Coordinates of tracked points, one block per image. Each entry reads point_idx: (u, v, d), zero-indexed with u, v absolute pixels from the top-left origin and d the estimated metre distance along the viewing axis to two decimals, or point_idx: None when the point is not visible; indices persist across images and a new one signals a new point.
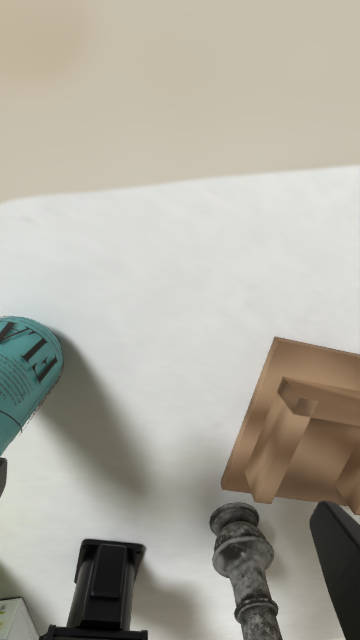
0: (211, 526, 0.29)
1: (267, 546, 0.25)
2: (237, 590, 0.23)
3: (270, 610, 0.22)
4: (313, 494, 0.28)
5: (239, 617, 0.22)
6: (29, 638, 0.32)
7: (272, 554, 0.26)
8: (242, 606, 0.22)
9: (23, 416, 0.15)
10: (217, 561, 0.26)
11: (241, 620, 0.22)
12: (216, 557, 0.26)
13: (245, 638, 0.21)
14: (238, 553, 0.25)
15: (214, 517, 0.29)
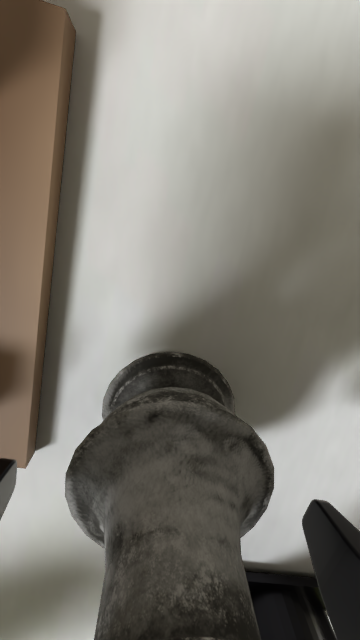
0: None
1: (105, 434, 0.07)
2: None
3: None
4: (14, 207, 0.08)
5: None
6: None
7: (151, 413, 0.07)
8: None
9: None
10: None
11: None
12: None
13: None
14: None
15: None
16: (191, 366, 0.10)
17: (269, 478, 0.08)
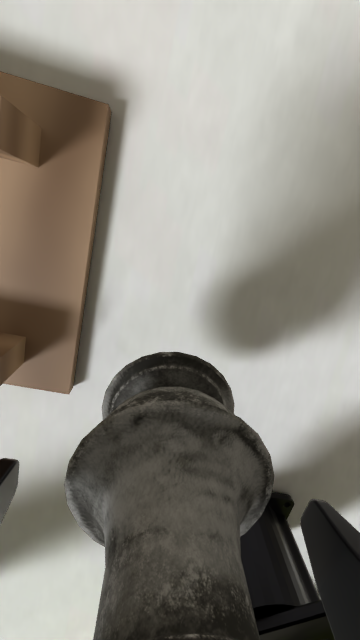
0: None
1: (94, 442, 0.07)
2: None
3: None
4: (72, 216, 0.12)
5: None
6: None
7: (135, 416, 0.07)
8: None
9: None
10: None
11: None
12: None
13: None
14: None
15: None
16: (183, 363, 0.10)
17: (267, 467, 0.08)
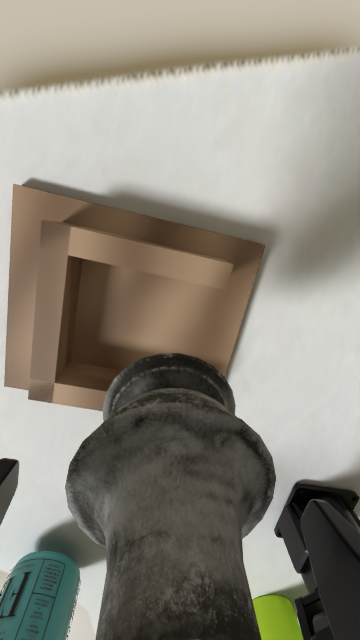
0: None
1: (95, 444, 0.07)
2: None
3: None
4: (232, 308, 0.19)
5: None
6: None
7: (136, 418, 0.07)
8: None
9: None
10: None
11: None
12: None
13: None
14: None
15: None
16: (184, 364, 0.10)
17: (269, 469, 0.08)
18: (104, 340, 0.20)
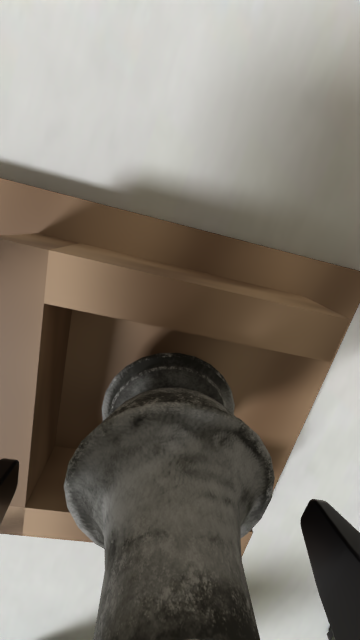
0: None
1: (94, 444, 0.07)
2: None
3: None
4: (309, 369, 0.12)
5: None
6: None
7: (135, 418, 0.07)
8: None
9: None
10: None
11: None
12: None
13: None
14: None
15: None
16: (183, 363, 0.10)
17: (268, 468, 0.08)
18: None
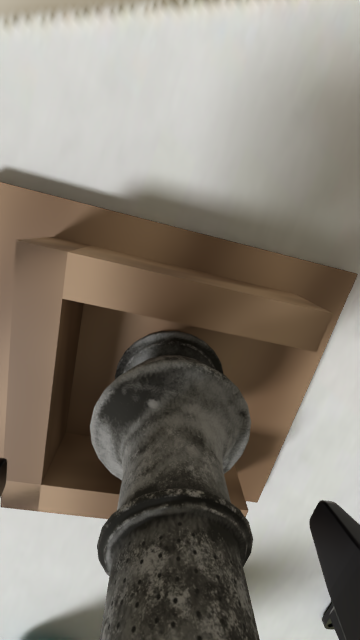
0: None
1: (226, 387, 0.09)
2: (121, 490, 0.07)
3: (212, 530, 0.06)
4: (301, 361, 0.14)
5: (110, 567, 0.06)
6: None
7: (244, 412, 0.10)
8: (112, 526, 0.06)
9: None
10: (101, 442, 0.10)
11: (111, 576, 0.06)
12: (97, 433, 0.10)
13: None
14: (141, 404, 0.09)
15: (119, 372, 0.13)
16: None
17: None
18: None
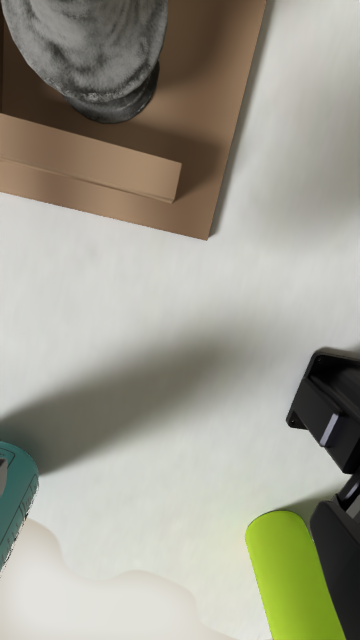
0: None
1: None
2: None
3: None
4: (238, 40, 0.13)
5: None
6: None
7: None
8: None
9: None
10: (12, 3, 0.10)
11: None
12: None
13: None
14: None
15: None
16: (152, 72, 0.13)
17: (114, 92, 0.11)
18: (50, 91, 0.13)
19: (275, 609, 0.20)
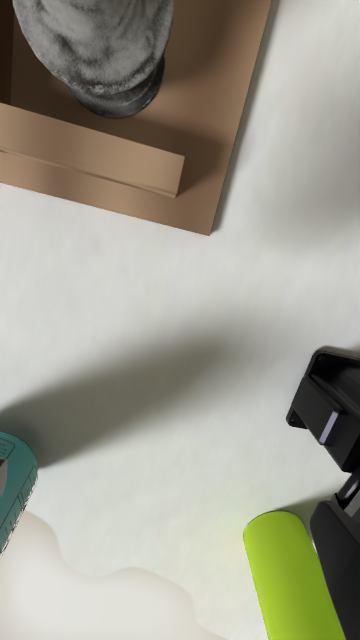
0: None
1: None
2: None
3: None
4: (243, 37, 0.13)
5: None
6: None
7: None
8: None
9: None
10: None
11: None
12: None
13: None
14: None
15: None
16: (157, 67, 0.13)
17: (120, 85, 0.11)
18: (57, 85, 0.14)
19: (271, 610, 0.20)
